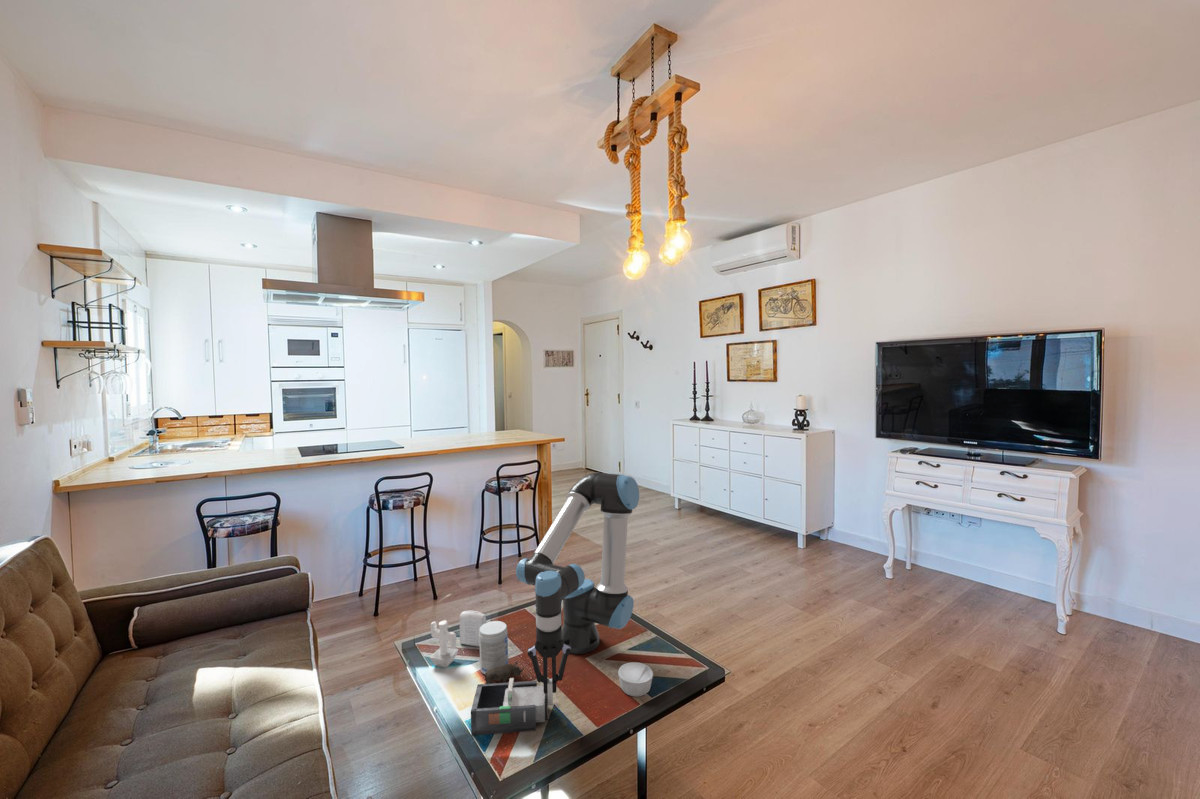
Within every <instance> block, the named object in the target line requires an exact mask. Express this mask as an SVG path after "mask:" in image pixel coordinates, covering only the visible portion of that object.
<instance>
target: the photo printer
mask: <svg viewBox="0 0 1200 799" xmlns="http://www.w3.org/2000/svg"><path fill="white" fill-rule="evenodd" d="M485 623H487V616H486V614H484V613H483V612H481V611H476V610H463V611H462V612H461V613H460V614H459V644H463V645H467V646H473V647H480V646H479V629H480V627H481V626H482V625H483V624H485Z"/></svg>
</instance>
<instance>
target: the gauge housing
mask: <svg viewBox="0 0 1200 799" xmlns="http://www.w3.org/2000/svg"><path fill="white" fill-rule="evenodd" d="M508 686H509V681H507V682H506V683H503V682H498V683H496V682H494V683H492V684H485V683H481V684H477V686H476V690H475V694H474V697H473V702H472V706H471V709H470V731H471V732H470V733H471V734H470V735H471V736H480V735H482V736H483V735H495V734H507V733H509V734H511V733H521V732H524V733H525V732H535V731H536V729H537V728H536V727H537V726H536V725H537V722H536V720H535V705H524V706H503V702H504V696H505V690H506V688H508ZM528 686H538V681H537V680H530V681H529V680H528V681H527V680H526V681H514V687H528Z"/></svg>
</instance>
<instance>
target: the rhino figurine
mask: <svg viewBox="0 0 1200 799" xmlns="http://www.w3.org/2000/svg"><path fill="white" fill-rule="evenodd" d="M517 665H518V661H515V664H512V663H508V664H506V665H503V666H501V667H497V668H490V669H488V670H487V671H486V673H485V674H484V676H485V677H484V678H485V679H484V681H485V683H484V684H493V682H494V681H497V682H499V681H501V680H502V683H507V682H508V680H509V677H510V675H513V676H516V677H518V676H521V674H522V672H523V671H524V670H525V666H523V668H522V667H520V666H519V665H518V666H517Z"/></svg>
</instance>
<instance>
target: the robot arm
mask: <svg viewBox="0 0 1200 799" xmlns="http://www.w3.org/2000/svg"><path fill="white" fill-rule="evenodd" d="M639 489H640V488H639V485H638V483H637V481H636V479H635V478H634V477H632V476H629V475H626V474H625V475H624V474H617V473H605V472H600V471H599V472H598V471H597V472H591V473H588V474H586V475H585V476H583V477H581V478H580V479H579V480H578V481H576V483H574V485H573V486H572V487H571V488H570V489H569V491H568V492H567V493H566V497H565V498H566V499H565V502H564V504H563V505H562V507H561V509H560V510H559V512H558V514H557V515H556V516H555V518H554V519H553V521H552V523H551V525H550V526H549V527H548V529H547V531H546V533H545V534H544V536H543V537H542V539H541V540H540V543H539V544H538V546H537V547H536V549H535V550H534V552H533V553H532V555H531V557H530V558H528V557H527V558H522V559H521V560H520V561H519V562H518V563H517V565H516V569H515V575H516V579H517V580H518V581H519V582H521V583H523V584H526V585H529V586H530V585H531V586H535V588H534V592H535V626H536V629H535V630H536V632H535V635H536V640H535V643H534V645H533V646H532V647H528V649H527V656H528V657H529V658H530V659H531V664H532V666H533V671H534V674H535V678H536V681H537V683H543V684H542V685H543V686H544V694H545V693H548V707H549V706H550V707H551V706H553V704H554V694H556V693H557V682H561V681H563V677H564V674H565V669H566V665H567V660H568V657H569V655H570V654H573V655H575V654H576V655H580V654H588V653H590V652H592V651H594V650H596V649H597V648H598V647H599V645H600V634H599V631H598V628H597V625H596V624H598V625H601V626H605V627H608V628H610V629H616V630H621V629H623V628H625V627H626V625H628V623H629V622H630V619H631V616H632V614H633V610H634V598H633V597H632V596H631V595H629V588H628V586H627V585H626V584H625V576H626V574H625V573H626V558H627V557H626V556H627V555H626V554H627V536H628V521H629V520H628V519H629V517H630V516H631V515H632V514H633V510H634V509H636V508H637V506H638V504H639V501H640V490H639ZM592 505H600V512H601V513H602V515H603V532H602V533H603V535H602V550H601V551H602V553H601V570H600V571H601V572H600V582H599V583H598V584H596V587H595V583H594V581H593V580H591V579H589V578H586V577H585V572H584V570H583V569H582V567H581V566H580V565H579V564H576V563H571V564H567V565H566V566H561V565H556V564H554V563H555V562H556V560H557V558H558V556H559V555H560V553H561V551H562V550H563V548H564V546H565V545H566V544H567V541H568V540H569V538H570V536H571V535H572V532H573V531H574V529H575V528H576V526H577V524H578V523H579V521H580V519H581V518H582V516H583V514H584V512H587V511H588V510H589V509H590V508H591V506H592ZM562 604H563V605H562ZM562 606H563V609H562ZM562 610H563V614H562ZM562 616H563V618H562ZM562 619H563V623H562ZM561 651H562V656H561V660H560V664H559V668H558V673H557V656H558V655H559V653H560V652H561ZM537 652H538V654H539V655H540V656H541V657H542V667H543V668H542V671H543V672H541V668H540V664H539V660H538V657H537ZM548 658H549V659H551V678H548V677H549V676H548V674H549V673H548V670H549V669H548Z"/></svg>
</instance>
